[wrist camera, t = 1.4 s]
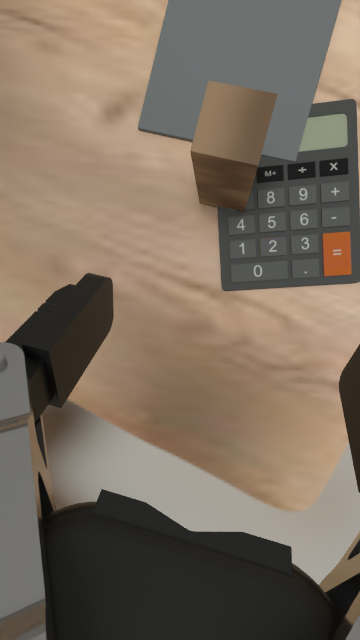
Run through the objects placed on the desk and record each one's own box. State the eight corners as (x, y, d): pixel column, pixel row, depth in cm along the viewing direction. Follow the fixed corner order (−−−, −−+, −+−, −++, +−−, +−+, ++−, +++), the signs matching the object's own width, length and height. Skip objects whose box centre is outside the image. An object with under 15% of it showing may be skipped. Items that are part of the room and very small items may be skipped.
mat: (138, 130, 29) (137, 127, 29) (178, -35, 28) (178, -40, 27) (294, 163, 28) (295, 161, 27) (343, -9, 26) (344, -13, 26)
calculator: (222, 290, 28) (212, 115, 28) (221, 291, 29) (213, 121, 29) (362, 282, 27) (357, 97, 26) (358, 282, 28) (352, 103, 27)
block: (200, 203, 29) (190, 151, 19) (211, 158, 28) (208, 80, 18) (244, 213, 28) (258, 165, 18) (256, 167, 28) (277, 93, 18)
